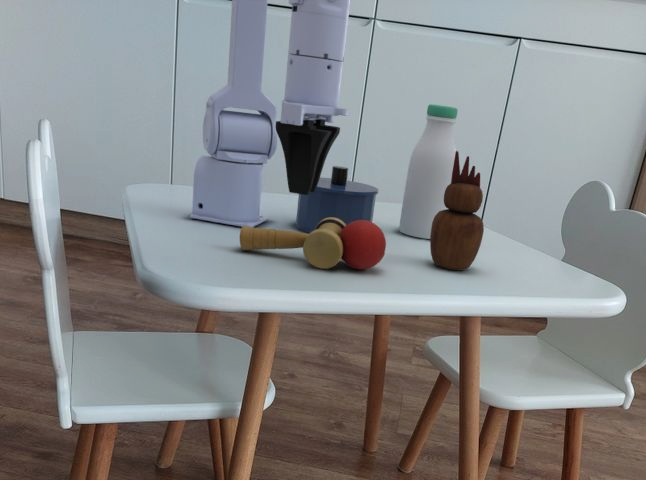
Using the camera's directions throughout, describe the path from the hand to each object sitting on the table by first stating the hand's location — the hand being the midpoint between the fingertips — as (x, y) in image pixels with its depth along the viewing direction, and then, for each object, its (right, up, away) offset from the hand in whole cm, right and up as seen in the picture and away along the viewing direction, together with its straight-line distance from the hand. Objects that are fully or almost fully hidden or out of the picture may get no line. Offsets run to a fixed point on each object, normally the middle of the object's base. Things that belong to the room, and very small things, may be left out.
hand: (302, 192), depth 75 cm
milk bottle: (+17, +1, +37) cm, 40 cm away
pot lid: (+3, +7, +28) cm, 29 cm away
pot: (+2, +1, +30) cm, 31 cm away
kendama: (0, -6, +10) cm, 12 cm away
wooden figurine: (+19, -6, +17) cm, 26 cm away
